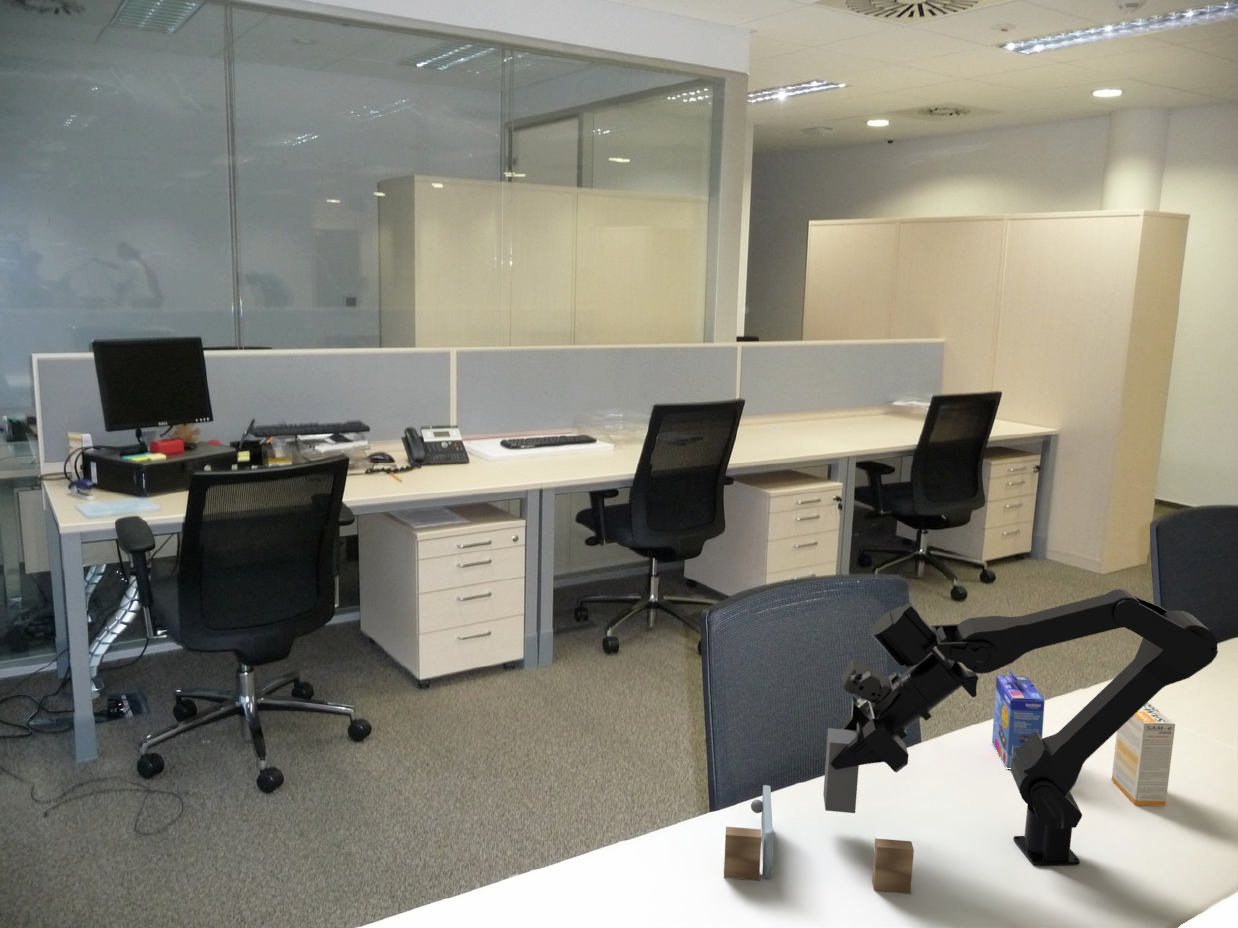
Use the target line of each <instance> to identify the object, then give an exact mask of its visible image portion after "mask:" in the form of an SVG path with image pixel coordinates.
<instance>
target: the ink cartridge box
mask: <svg viewBox="0 0 1238 928" xmlns="http://www.w3.org/2000/svg"><path fill="white" fill-rule="evenodd" d="M1008 672H1009V673H1010V675H1003V674H1001V675H999V674H998V675H996V679H995V681H996V682H995V698H994V710H993V720H992V721H993V723H992V724H993V725H992V739H991V744H992V743H993V744H992V745H994V746H993V747H995V748H996V749H995V748H994V749H995V751H996V750H997V751H996V753H997V752H998V753H997V755H998V754H999V755H1000V757H1001V759H1000V760H1002V761H1003V763H1004V764H1003V763H1002V764H1003V766H1004V765H1005V766H1004V768H1005V767H1007V768H1011V762H1012V759H1013V758H1014V757H1015V755H1016V753H1015V751H1014V749H1016V748H1018V747H1020V746H1022V745H1023V744H1024V743H1025V742H1026V741H1027V740H1028V738H1029V737H1030V736H1031V734H1033V733H1034V732H1037V733H1038V734H1039V735H1040V736H1041V738H1043V729H1044V718H1045V717H1044V716H1045V698H1044V697H1043V695H1041V692H1040V691H1038V689H1036V687H1035V686H1034V683H1033V682H1032V681H1031V679H1030V678H1029V677H1027V676H1019V675H1018V676H1017V675H1015V674H1014V673H1013V672H1012V669H1010V668H1008ZM999 755H998V756H999ZM1000 757H999V758H1000ZM1002 761H1001V762H1002Z"/></svg>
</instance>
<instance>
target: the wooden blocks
mask: <svg viewBox="0 0 1238 928" xmlns="http://www.w3.org/2000/svg"><path fill="white" fill-rule="evenodd" d="M761 849H762V828H750V827H748V828H747V827H736V826H726V827H725V841H724V862H723V878H725V879H735V880H746V881H747V880H748V881H758V882H759V881H760V869H761V868H760V867H761V855H762V854H761V851H762V850H761ZM873 850H874V852H873V863H872V874H871V875H872V876H871V883H872V886H873V887H872V888H873V891H875V892H876V891H877V892H887V893H889V892H890V893H899V894H901V893H902V894H911V893H912V891H911V890H912V878H913V876H912V875H913V865H914V864H913V863H914V852H915V849H914V846H913V841H910V840H901V839H900V840H899V839H887V838H878V837H877V838H874V849H873Z"/></svg>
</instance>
